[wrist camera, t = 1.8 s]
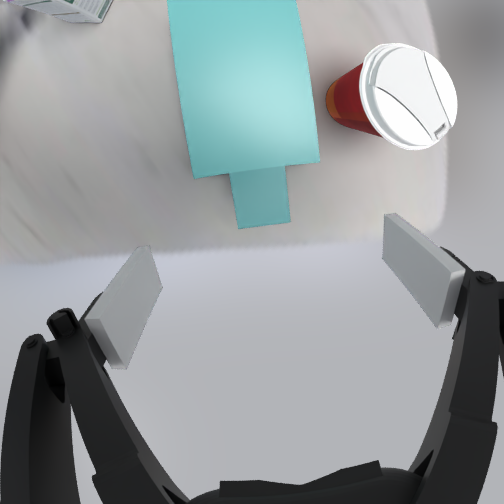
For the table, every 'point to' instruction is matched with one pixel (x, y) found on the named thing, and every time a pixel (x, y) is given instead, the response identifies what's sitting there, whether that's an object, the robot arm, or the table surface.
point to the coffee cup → (396, 97)
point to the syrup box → (69, 9)
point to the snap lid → (245, 98)
